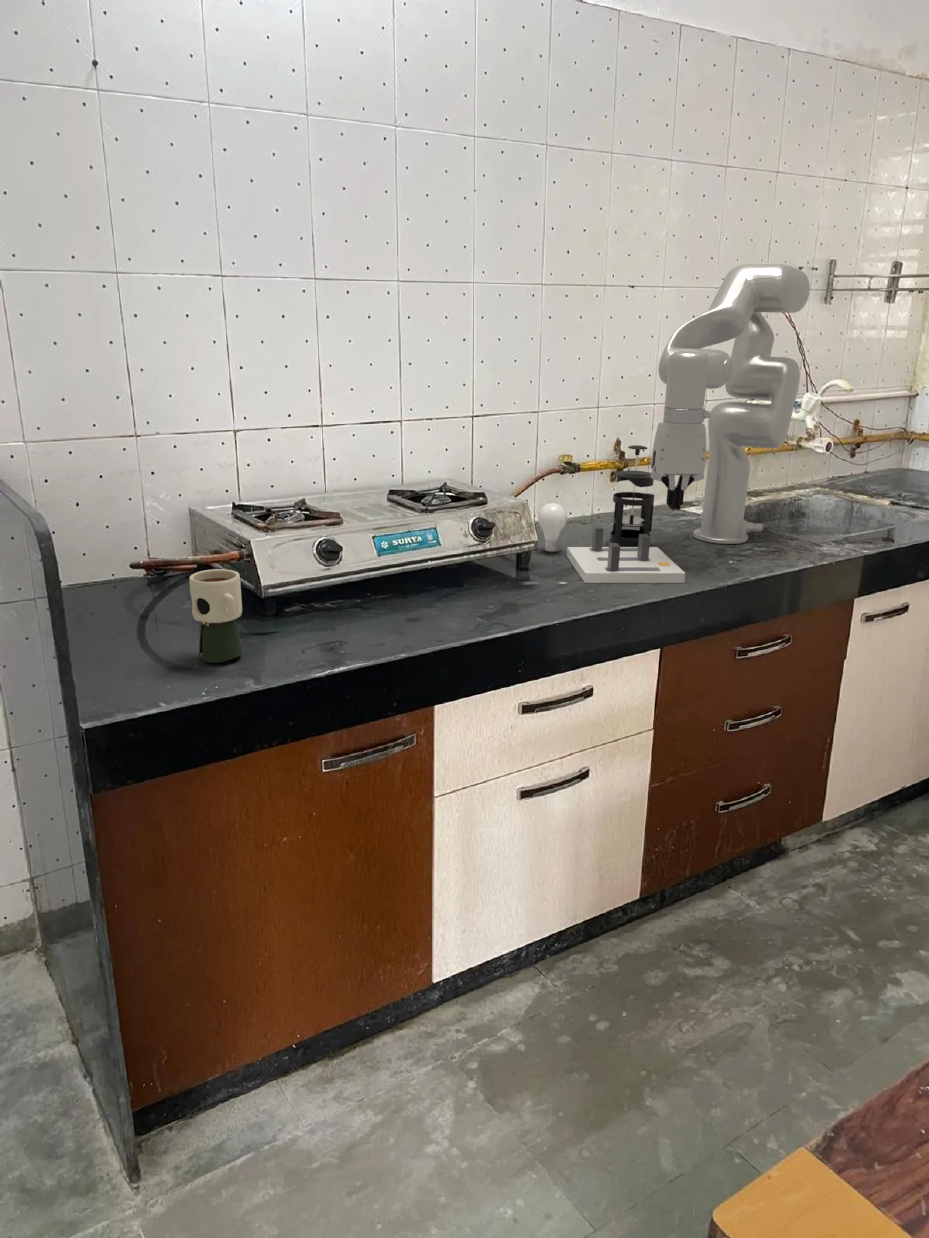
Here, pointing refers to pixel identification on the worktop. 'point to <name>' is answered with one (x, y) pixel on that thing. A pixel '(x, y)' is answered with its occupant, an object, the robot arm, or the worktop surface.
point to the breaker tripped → (643, 547)
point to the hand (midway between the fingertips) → (674, 508)
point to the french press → (645, 522)
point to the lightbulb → (552, 524)
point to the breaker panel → (624, 566)
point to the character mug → (217, 613)
